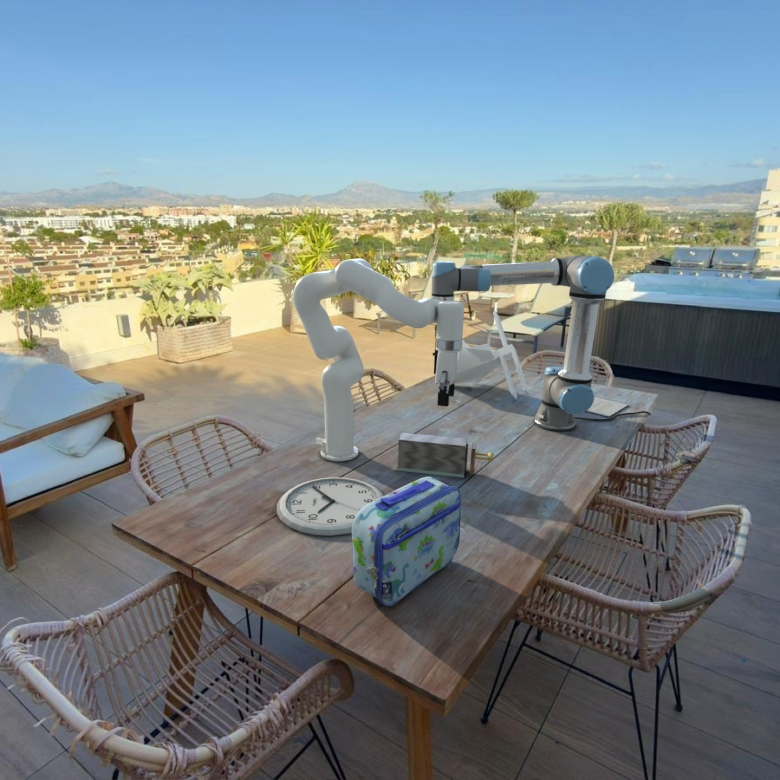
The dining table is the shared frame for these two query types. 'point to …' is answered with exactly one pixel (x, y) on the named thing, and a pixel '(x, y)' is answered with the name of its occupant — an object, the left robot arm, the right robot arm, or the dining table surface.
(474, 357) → the white plastic object
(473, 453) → the drawer
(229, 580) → the dining table surface
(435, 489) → the lunch box
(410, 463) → the cabinet
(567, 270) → the right robot arm
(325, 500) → the wall clock
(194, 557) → the dining table surface
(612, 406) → the invitation card
